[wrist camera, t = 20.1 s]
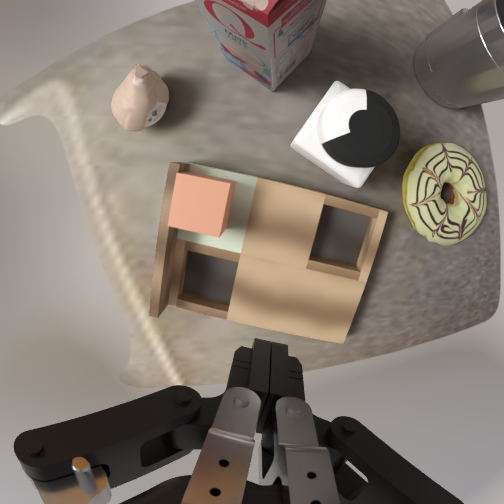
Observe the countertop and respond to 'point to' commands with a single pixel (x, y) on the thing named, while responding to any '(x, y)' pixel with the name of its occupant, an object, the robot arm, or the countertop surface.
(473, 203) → the decorated donut
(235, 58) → the juice carton
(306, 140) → the medicine bottle
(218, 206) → the block
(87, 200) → the countertop surface
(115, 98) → the garlic bulb
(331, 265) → the board
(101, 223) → the countertop surface
